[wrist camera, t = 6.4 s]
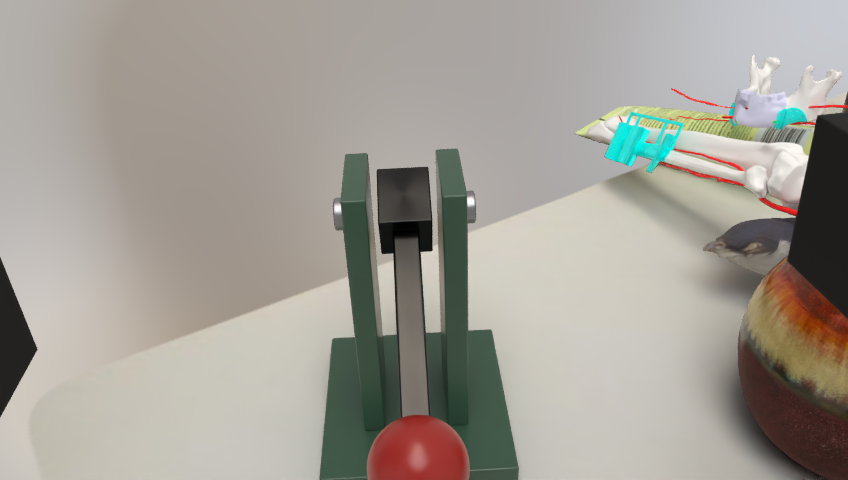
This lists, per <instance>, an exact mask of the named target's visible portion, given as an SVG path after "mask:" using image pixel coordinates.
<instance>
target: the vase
mask: <svg viewBox="0 0 848 480" xmlns="http://www.w3.org/2000/svg"><path fill="white" fill-rule="evenodd" d="M787 258H788V255H787V256H786V257H784V258H783V259H782V260H781V261H780V262H779V263H777V264H776V265H775V266H774V267H773V268H772V269H771V270H770V271H769V272H768V273H767V274H766V275H765V277H764V278H763V279H762V280H761V282H760V284H759V285H758V287H757V288H756V290H755V291H754V293H753V295H752V296H751V298H750V300H749V302H748V304H747V307H746V310H745V313H744V316H743V320H742V323H741V327H740V332H739V339H738V368H739V376H740V382H741V386H742V389H743V393H744V397H745V400H746V402H747V405H748V407H749V409H750V411H751V413H752V415H753V417H754V419H755V421H756V422H757V424H758V425H759V426H760V428H761V429H762V431H763V432H764V433H765V435H766V436H767V437H768V438H769V439H770V440H771V441H772V442H773V443H774V444H775V445H776V446H777V447H778V448H779V449H780V450H781V451H782V452H784V453H785V454H786V455H787V456H788V457H790V458H791V459H793V460H794V461H795V462H797V463H798V464H800V465H801V466H803V467H805V468H806V469H808V470H810V471H812V472H814V473H816V474H817V475H820V476H822V477H824V478H827V479H829V480H848V319H847V318H846V317H845V316H844V315H843V314H842V313H841V312H840V311H839V310H838V309H837V308H836V307H835V306H834V305H832V304H831V303H830V302H829V301H828V300H827V299H826V298H825V297H824V296H823V295H822V294H821V293H820V292H819V291H818V290H817V289H816V288H815V287H814V286H813V285H812V284H810V283H809V282H808V281H807V280H806V279H805V278H804V277H803V276H802V275H801V274H800V273H799V272H798V271H797V270H796V269H795V268H794V267H793V266H792V265H791V264H790V263H788V262H787Z"/></svg>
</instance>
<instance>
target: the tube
mask: <svg viewBox="0 0 848 480" xmlns="http://www.w3.org/2000/svg"><path fill="white" fill-rule="evenodd" d="M631 112H635V113H640V114H644V115H649V116H653V117H658V118H662V119H667V120H670V118H671V119H673V120H672V121H676V122H681V123H684V126H683V128H682V130H686V131H696V132H702V133H707V134H713V135H717V136H722V137H727V138H732V139H738V140H744V141H754V142H764V143H776V142H788V143H795V144H798V145H801V146H802V148H803V151H804V153H805V154H806V155H808V156H809V153H810V148H811V143H812V139H813V134H814V129H815V127H810V126H804V125H786V126H785V127H784V128H783V129H781V130H777V128H774V129H773V127H769V128H753V127H748V126H743V125H737V126H736V127H735V126H733V125H732V124H731V123H730V122H729V121H715V120H694V119H704V118H711V119H718V120H730V119H729V118H728V119H723V118H722V116H729V115H722V114H715V113H705V112H695V111H687V110H677V109H666V108H656V107H644V106H627V107H618V108H617V109H615V110H613V111H611V112H610V113H608V114H607V115H605V116H603V117H601V118H600V119H598V120H596V121H594V122H593V123H591V124H589V125H587V126H586V127H584V128H582V129H581V130H579V131H577V132H574V134H577V135H579V136H582V137H585V138H588V139H591V138H590V137H588V136H587V131H588V129H589V128H590V127H591V126H594V125H596V124H597V123H598V122H600V121H603V122H604V124H605V121H606V120H607V119H609V118H611V117H614V116H627V117H629V115H630V113H631ZM678 116H683V117H691V118H694V119H686V118H682V117H678ZM669 117H670V118H669ZM677 117H678V118H677ZM719 117H720V118H719ZM632 118H634V119H635V120H636V121H637V119H638V117H637V116H632ZM676 118H677V119H676ZM674 119H675V120H674ZM639 124H641V125H643V126H646V127H651V128H657V129H662V127H663V125H664V122H660V121H655V120H651V119H646V118H642V117H641V120H640V122H639ZM678 128H679V126H677V125H673V124H667V127H666V129H672V130H678ZM591 140H592V139H591ZM602 143H604V144H608V143H607V142H602ZM608 145H610V144H608ZM675 152H676V151H675ZM678 153H680V152H678ZM682 154H684V153H682ZM685 155H688V154H685ZM688 156H691V155H688ZM692 157H695V156H692ZM695 158H699V157H695ZM699 159H702V160H705V161H708V162H711V163H715V162H712V161H709V160H706V159H703V158H699ZM715 164H718V165H722V164H719V163H715ZM723 166H725V165H723ZM725 167H728V166H725ZM728 168H731V167H728ZM731 169H733V168H731ZM734 170H736V169H734Z"/></svg>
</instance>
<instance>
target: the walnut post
mask: <svg viewBox="0 0 848 480" xmlns="http://www.w3.org/2000/svg"><path fill="white" fill-rule="evenodd" d="M844 105H845V106H848V93H847V96H846V100H845V103H844ZM845 112H848V108H843V111H842V113H845Z"/></svg>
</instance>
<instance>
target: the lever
mask: <svg viewBox="0 0 848 480" xmlns="http://www.w3.org/2000/svg"><path fill="white" fill-rule="evenodd" d="M377 196H378V225H379V234H380V243H381V252H382V254H390V253H393V254H394V278H395V302H396V327H397V351H398V376H399V400H400V418H399V419H397V420H395V421H393V422H391V423H390V424H389V425H387V426H386V427H385V428H384V429H383V430H382V431H381V432H380V433H379V434H378V435H377V437H376V439H375V440H374V442H373V444H372V446H371V448H370V451H369V454H368V459H367V478H368V480H469V475H470V462H469V456H468V452H467V449H466V447H465V444H464V442H463V441H462V439H461V437H460V436H459V435H458V433H457V432H456V431H455V430H454V429H453V428H452V427H451V426H450V425H448V424H447V423H445V422H444V421H442V420H440V419H438V418H435V417H432V416H431V408H430V392H429V377H428V361H427V346H426V330H425V315H424V299H423V284H422V268H421V253H420V252H426V251H432V211H431V198H430V184H429V171H428V167H415V168H396V169H378V170H377Z"/></svg>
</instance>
